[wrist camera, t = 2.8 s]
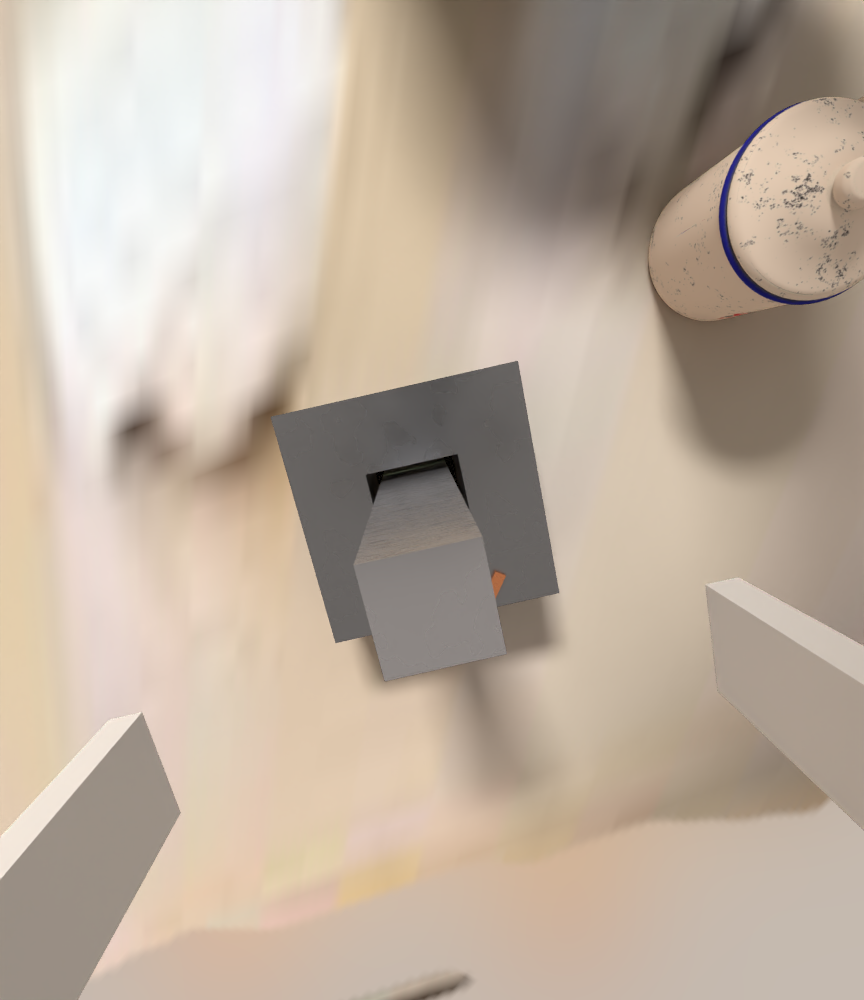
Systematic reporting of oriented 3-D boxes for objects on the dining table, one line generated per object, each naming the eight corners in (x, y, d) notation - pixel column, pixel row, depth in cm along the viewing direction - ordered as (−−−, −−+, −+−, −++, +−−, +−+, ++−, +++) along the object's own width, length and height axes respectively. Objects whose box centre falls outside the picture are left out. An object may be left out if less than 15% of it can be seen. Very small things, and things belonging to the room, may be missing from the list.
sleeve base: (294, 412, 34) (262, 418, 26) (499, 366, 34) (524, 359, 26) (347, 603, 37) (331, 656, 29) (535, 560, 37) (567, 603, 29)
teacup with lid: (712, 354, 34) (863, 335, 23) (613, 265, 33) (721, 198, 21) (840, 200, 32) (1071, 97, 21) (741, 100, 31) (933, -69, 20)
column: (385, 468, 35) (352, 565, 15) (442, 455, 35) (482, 535, 15) (400, 532, 36) (389, 700, 16) (456, 520, 36) (511, 672, 16)
